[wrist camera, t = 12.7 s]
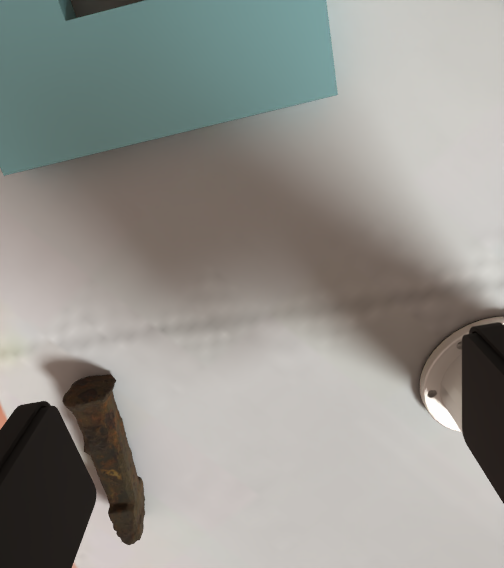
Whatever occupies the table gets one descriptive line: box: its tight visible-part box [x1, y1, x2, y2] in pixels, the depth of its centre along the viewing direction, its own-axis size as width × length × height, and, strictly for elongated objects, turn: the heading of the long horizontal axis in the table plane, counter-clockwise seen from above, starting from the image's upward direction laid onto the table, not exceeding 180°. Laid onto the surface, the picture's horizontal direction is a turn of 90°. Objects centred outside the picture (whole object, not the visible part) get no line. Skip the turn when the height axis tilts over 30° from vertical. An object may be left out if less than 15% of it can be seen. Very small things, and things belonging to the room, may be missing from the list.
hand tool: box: [63, 375, 145, 545], centre depth 41 cm, size 19×4×5 cm, turn 4°
